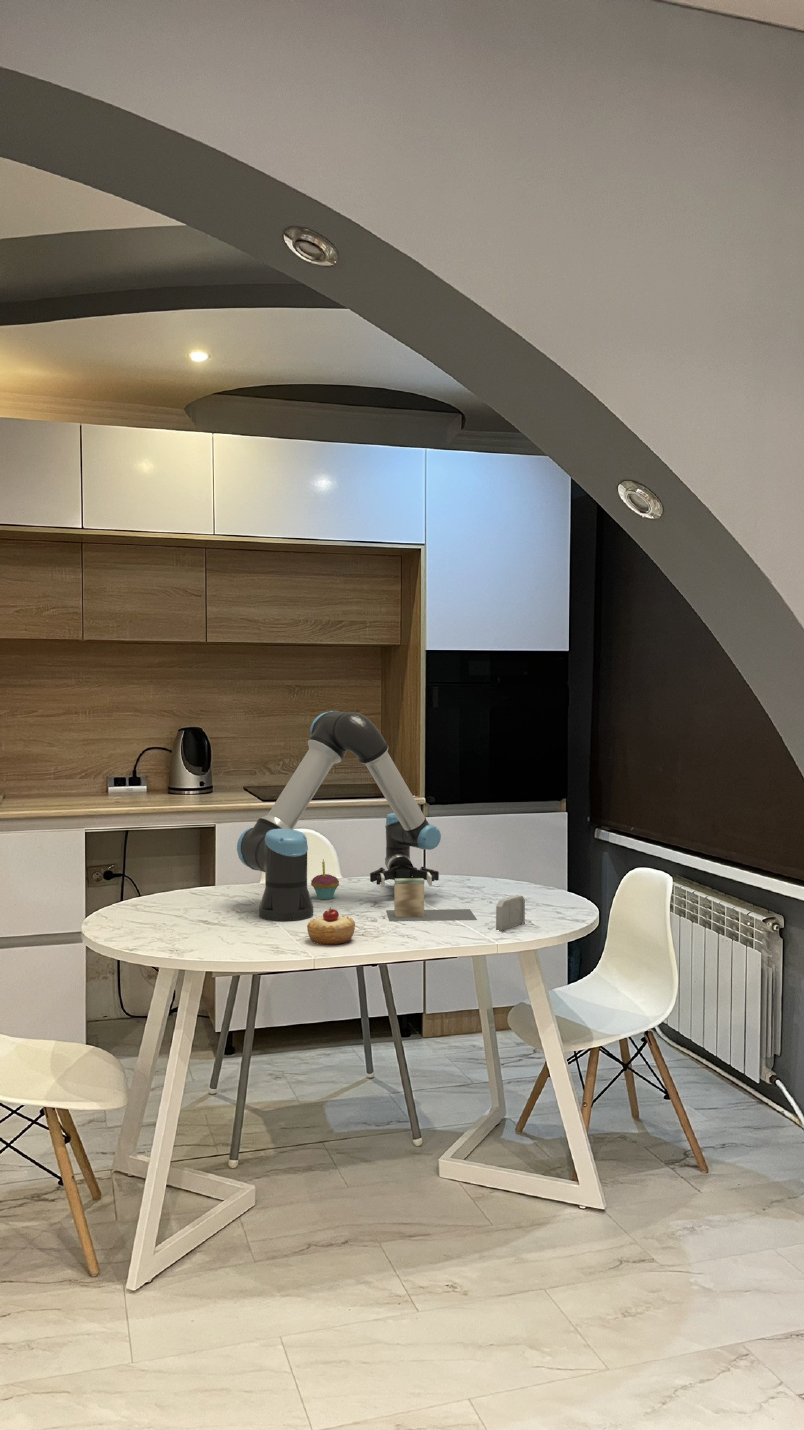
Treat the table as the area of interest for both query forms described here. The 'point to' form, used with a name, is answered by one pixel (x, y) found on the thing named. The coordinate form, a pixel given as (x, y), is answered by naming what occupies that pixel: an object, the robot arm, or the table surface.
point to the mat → (436, 915)
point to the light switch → (510, 912)
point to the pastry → (331, 928)
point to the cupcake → (325, 884)
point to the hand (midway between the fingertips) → (407, 881)
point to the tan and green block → (409, 897)
